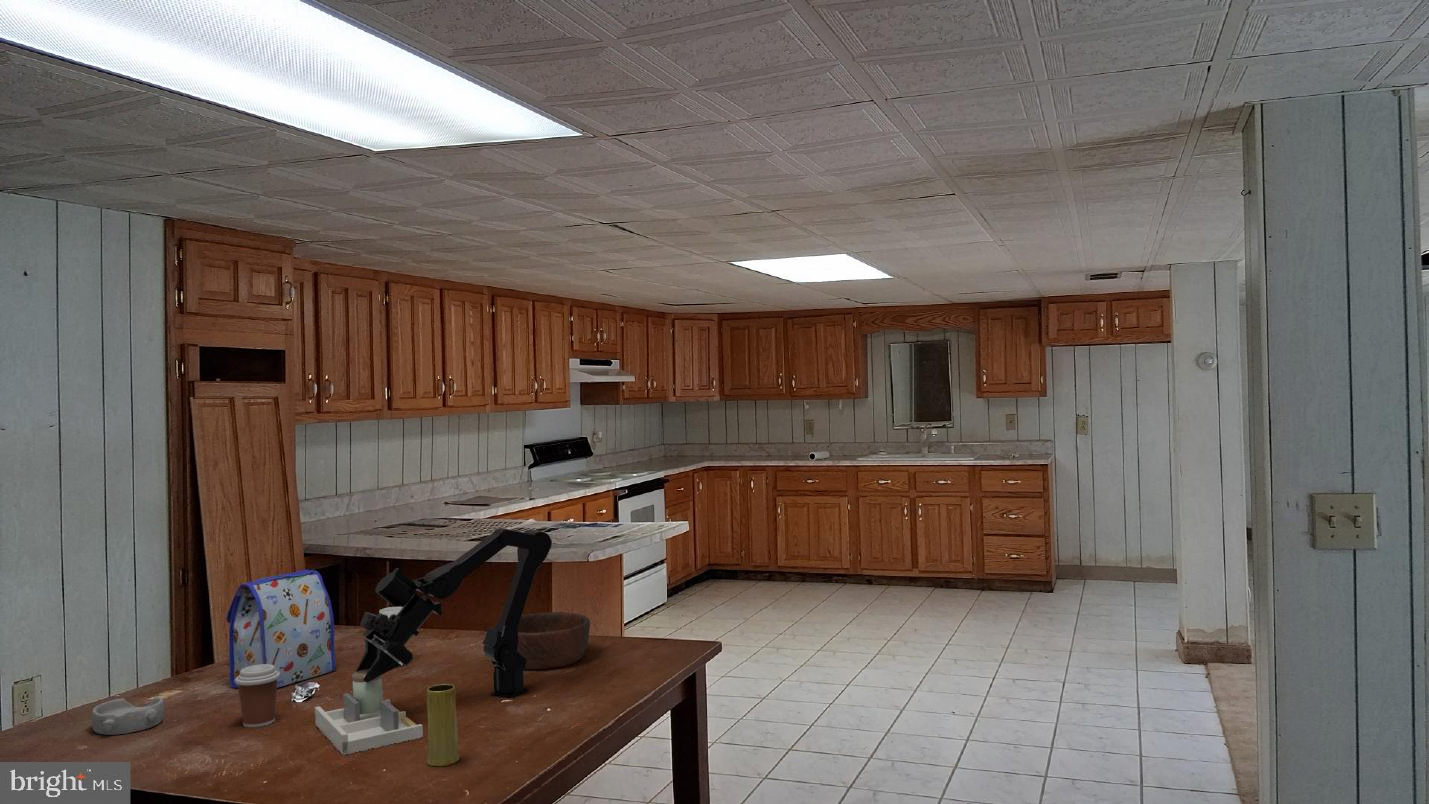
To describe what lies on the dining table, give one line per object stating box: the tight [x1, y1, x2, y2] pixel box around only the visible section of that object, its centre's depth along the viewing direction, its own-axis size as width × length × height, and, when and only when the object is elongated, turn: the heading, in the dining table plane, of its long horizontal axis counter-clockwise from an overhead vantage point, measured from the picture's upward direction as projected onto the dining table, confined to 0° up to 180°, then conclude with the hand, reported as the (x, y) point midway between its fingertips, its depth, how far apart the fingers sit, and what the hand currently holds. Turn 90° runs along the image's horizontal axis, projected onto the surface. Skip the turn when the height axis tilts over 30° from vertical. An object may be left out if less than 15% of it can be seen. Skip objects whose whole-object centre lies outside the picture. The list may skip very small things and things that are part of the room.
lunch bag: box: [225, 569, 337, 689], centre depth 249 cm, size 23×17×27 cm
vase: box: [426, 683, 460, 767], centre depth 188 cm, size 6×6×14 cm
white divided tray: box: [314, 698, 424, 756], centre depth 207 cm, size 16×23×6 cm
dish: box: [90, 696, 165, 736], centre depth 215 cm, size 14×14×5 cm
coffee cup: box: [235, 664, 280, 728], centre depth 215 cm, size 9×9×12 cm
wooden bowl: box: [517, 611, 591, 671], centre depth 260 cm, size 25×25×10 cm
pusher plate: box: [342, 692, 360, 723], centre depth 210 cm, size 1×9×5 cm, turn 35°
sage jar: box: [352, 669, 383, 714], centre depth 212 cm, size 6×6×8 cm
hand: (360, 678), depth 211 cm, fingers closed on sage jar, 6 cm apart
